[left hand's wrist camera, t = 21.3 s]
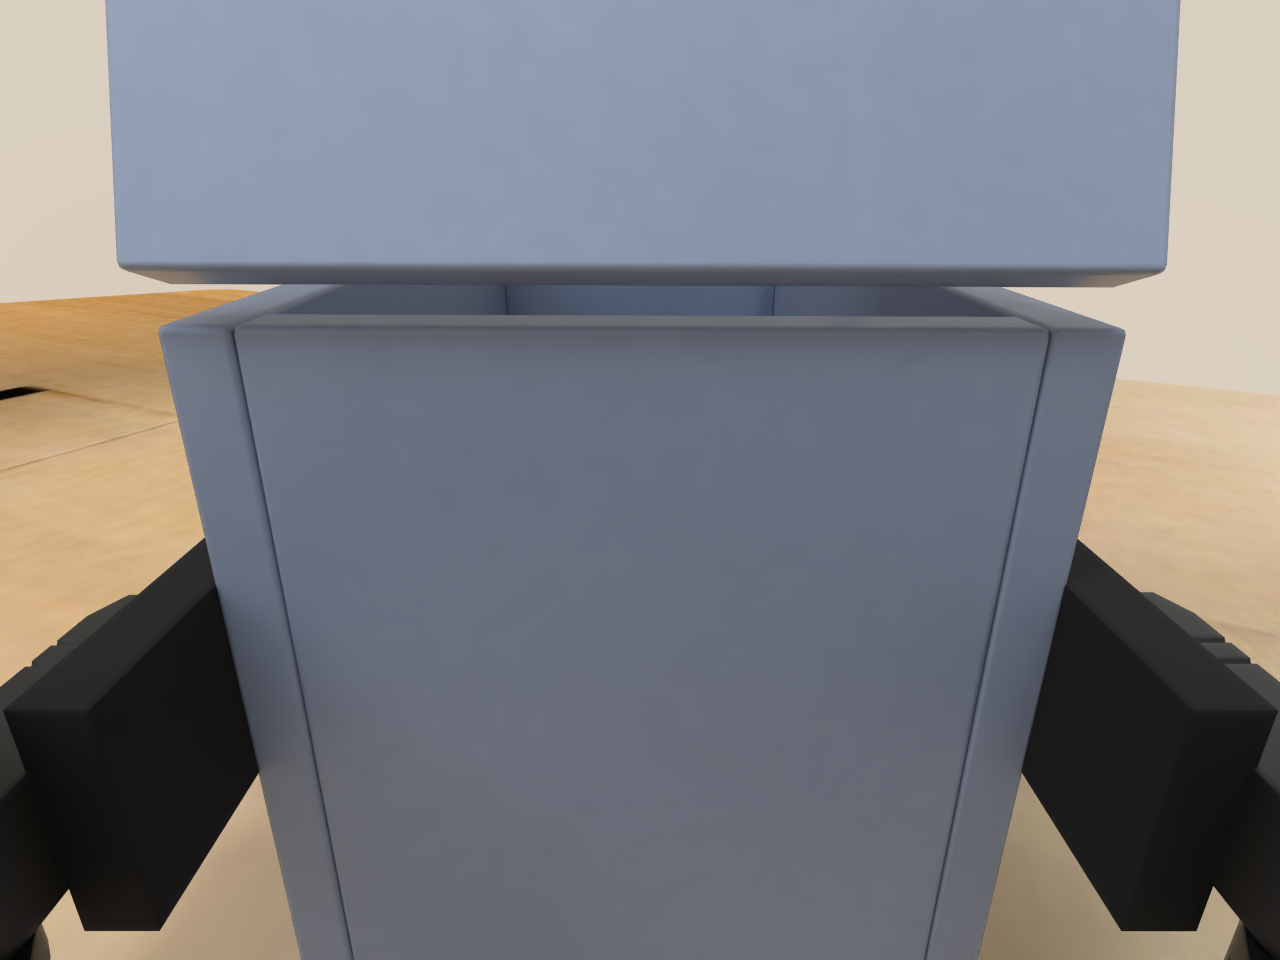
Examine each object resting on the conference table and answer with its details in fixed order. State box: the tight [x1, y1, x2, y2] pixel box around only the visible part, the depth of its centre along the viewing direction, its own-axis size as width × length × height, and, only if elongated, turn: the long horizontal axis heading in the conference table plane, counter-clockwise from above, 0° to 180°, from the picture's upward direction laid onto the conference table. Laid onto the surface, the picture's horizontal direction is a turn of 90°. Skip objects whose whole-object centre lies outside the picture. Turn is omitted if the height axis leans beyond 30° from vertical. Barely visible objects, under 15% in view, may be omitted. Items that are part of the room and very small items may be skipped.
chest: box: [159, 284, 1126, 960], centre depth 18 cm, size 17×10×11 cm, turn 0°
